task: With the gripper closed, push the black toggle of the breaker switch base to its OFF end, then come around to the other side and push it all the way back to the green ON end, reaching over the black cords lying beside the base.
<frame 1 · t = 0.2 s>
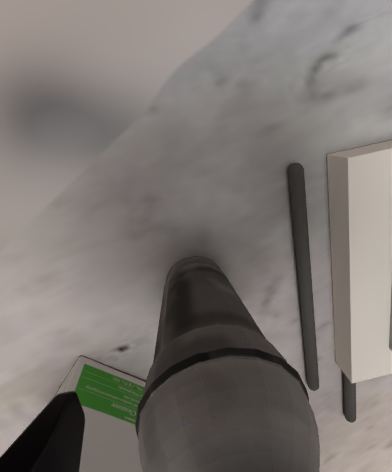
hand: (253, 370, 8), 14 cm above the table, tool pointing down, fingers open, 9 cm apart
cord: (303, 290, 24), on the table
beverage cup: (194, 281, 23), on the table
skincare box: (104, 395, 26), on the table
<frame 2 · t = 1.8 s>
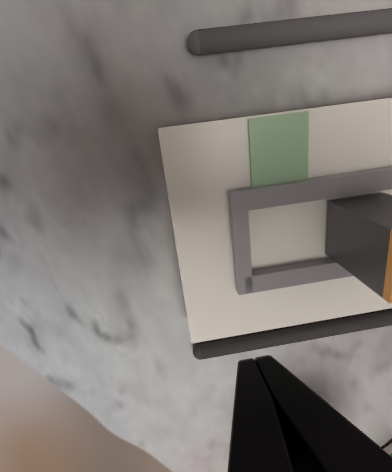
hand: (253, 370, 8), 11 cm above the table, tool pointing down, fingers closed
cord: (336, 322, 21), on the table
breaker toggle: (385, 240, 14), point 5 cm above the table, slide at 4.0 cm
breaker switch base: (327, 211, 18), on the table
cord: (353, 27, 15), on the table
skincare box: (385, 468, 29), on the table
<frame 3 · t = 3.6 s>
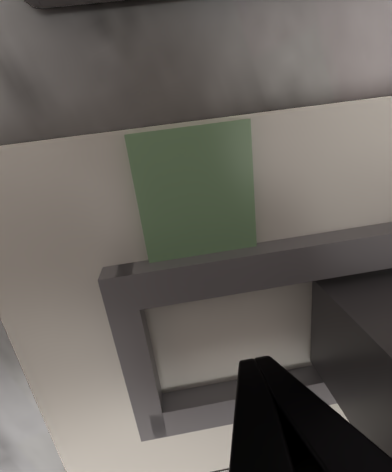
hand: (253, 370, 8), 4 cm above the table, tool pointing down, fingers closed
breaker switch base: (304, 275, 11), on the table
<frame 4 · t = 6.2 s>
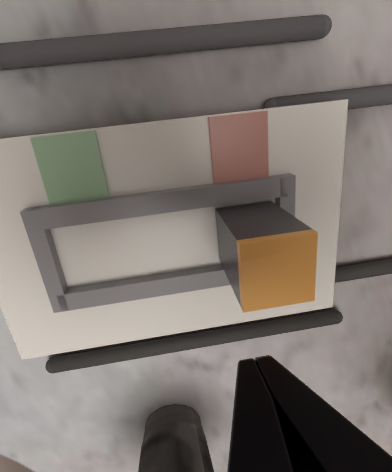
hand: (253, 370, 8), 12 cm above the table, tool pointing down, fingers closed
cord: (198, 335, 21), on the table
breaker toggle: (259, 249, 14), point 5 cm above the table, slide at 0.0 cm
breaker switch base: (168, 226, 18), on the table
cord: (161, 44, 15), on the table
beverage cup: (172, 422, 24), on the table
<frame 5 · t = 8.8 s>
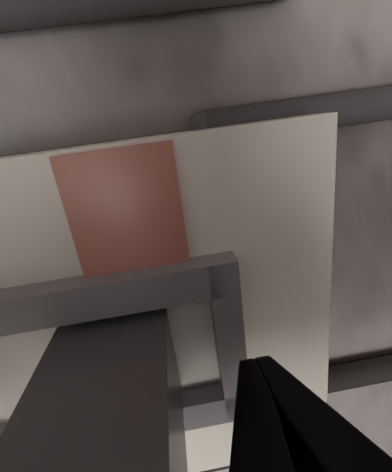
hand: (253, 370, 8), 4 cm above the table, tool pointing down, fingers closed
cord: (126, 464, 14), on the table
breaker toggle: (111, 435, 7), point 5 cm above the table, slide at 1.0 cm, touching gripper
breaker switch base: (51, 321, 11), on the table
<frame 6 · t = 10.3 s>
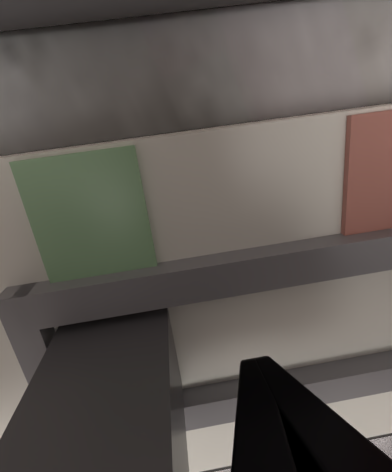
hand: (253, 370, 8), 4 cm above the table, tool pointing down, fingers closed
breaker toggle: (112, 435, 7), point 5 cm above the table, slide at 8.0 cm, touching gripper
breaker switch base: (237, 289, 12), on the table
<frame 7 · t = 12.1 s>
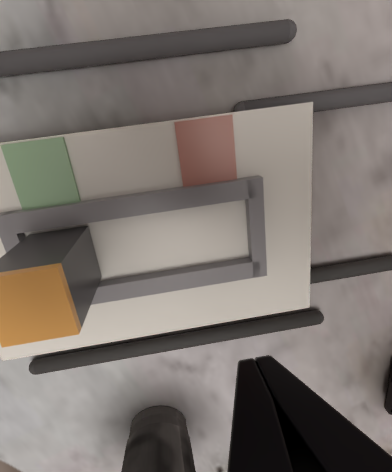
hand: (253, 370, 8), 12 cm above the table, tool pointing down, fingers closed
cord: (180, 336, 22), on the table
breaker toggle: (51, 278, 14), point 5 cm above the table, slide at 8.0 cm
breaker switch base: (145, 229, 18), on the table
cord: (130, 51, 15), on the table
beverage cup: (158, 424, 25), on the table
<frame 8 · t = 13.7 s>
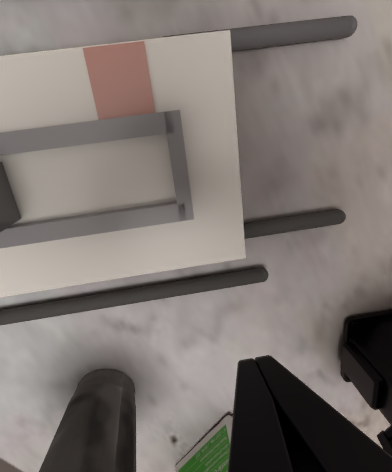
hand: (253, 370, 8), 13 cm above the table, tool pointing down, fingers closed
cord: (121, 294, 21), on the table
breaker switch base: (75, 176, 18), on the table
beverage cup: (106, 388, 24), on the table
skincare box: (226, 449, 28), on the table
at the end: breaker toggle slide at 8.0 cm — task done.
